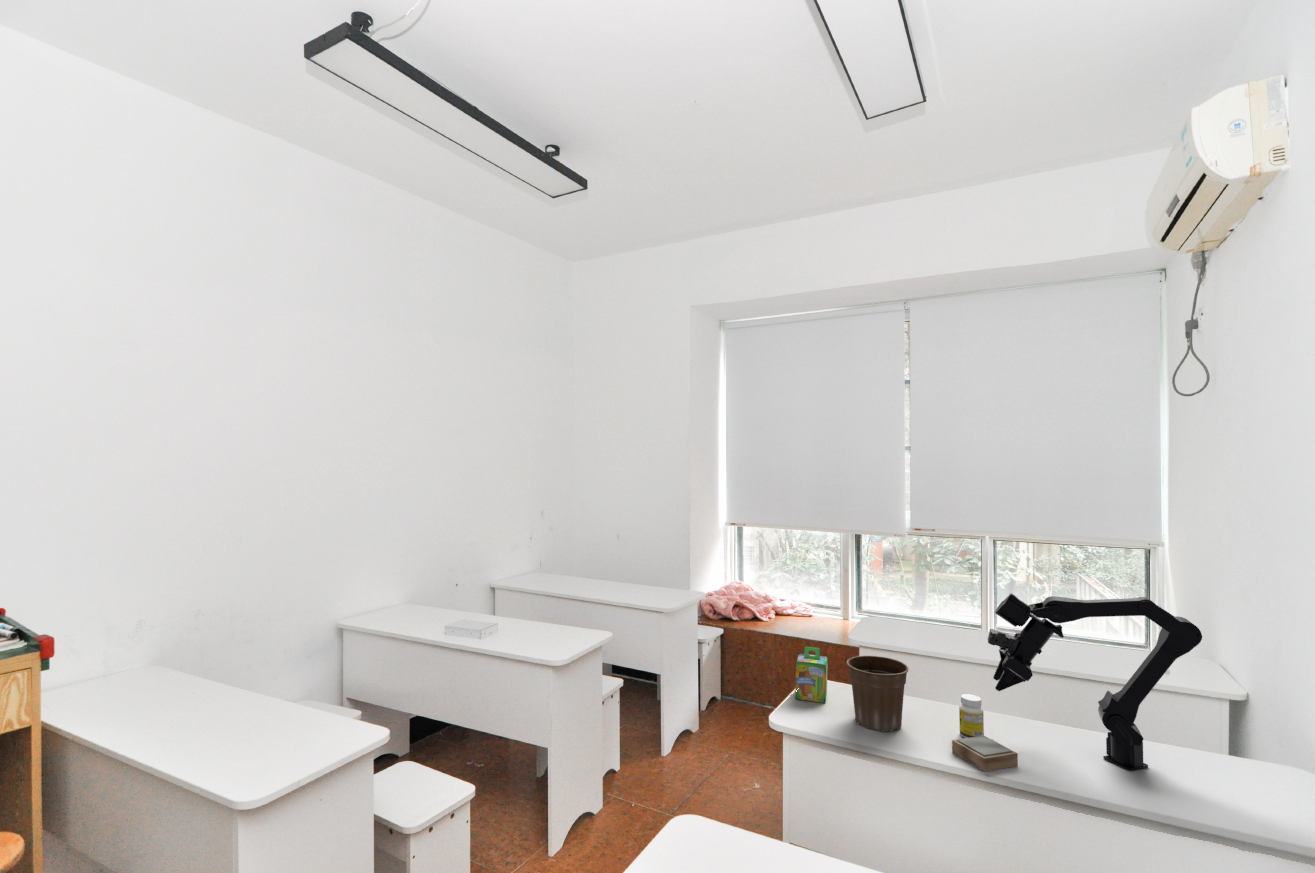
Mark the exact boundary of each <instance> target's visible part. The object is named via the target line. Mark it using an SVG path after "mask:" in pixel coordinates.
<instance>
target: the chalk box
mask: <svg viewBox="0 0 1315 873" xmlns="http://www.w3.org/2000/svg"><path fill="white" fill-rule="evenodd" d="M811 651H812V652H815V654H810V653H809V652H811ZM828 660H829V658H828V657H827V656H823V655H821V649H820V647H817V646H816V647H815V646H804V652H803V653H798V656H797V660H796V661H795V662H796V663H795V694H794V698H795V700H801V701H808V702H809V701H810V702H814V703H820V704H826V703H827V696H828V695H827V694H828ZM798 688H799V689H798ZM797 689H798V690H797ZM796 690H797V692H796Z"/></svg>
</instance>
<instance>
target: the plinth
mask: <svg viewBox="0 0 1315 873" xmlns="http://www.w3.org/2000/svg"><path fill="white" fill-rule="evenodd" d="M951 747H952V748H951V753H953V754H954V755H956V756H957V757H959V756H960V757H959V758H961V759H963V760H965V761H966V762H968V763H969V764H971V765H972V766H974V767H976V768H978V769H980V770H981V771H982V772H984V773H985V772H991V771H996V770H1001V769H1002V770H1003V769H1009V768H1015V767H1019V765H1018V764H1019V762H1018V761H1019V756H1018V753H1017V752H1016V751H1014V750H1012V749H1010V747H1007V746H1005V745H1003V744H1001V743H999V742H997V741H995V740H993V739H992V738H990V737H987V736H985V734H984V735H983V736H976V737H970V738H964V737H962V738H955V739H952V740H951ZM1008 767H1009V768H1008Z"/></svg>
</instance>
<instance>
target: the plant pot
mask: <svg viewBox="0 0 1315 873" xmlns="http://www.w3.org/2000/svg"><path fill="white" fill-rule="evenodd" d="M846 665H847V667H848V672H849V678H850V679H851V681H850V682H851V689H852V691H851V692H852V698H853V699H852V700H853V708H854V718H855V722H856V723H857V725H858V726H859V725H862V726H863V727H864V728H865V729H869V730H872V731H876V732H892V731H894V730H896V731H897V730H899V729H901V728H902V724H903V723H902V721H903V710H904V709H903V707H904V697H905V696H904V694H905V686H906V683H907V673H908V672H909V666H908V665H907V664H906V663H904V662H902V661H900V660H898V659H894V658H890V657H885V656H877V655H858V656H857V655H856V656H853V657H849V658H848V659H847V660H846Z"/></svg>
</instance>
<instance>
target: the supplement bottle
mask: <svg viewBox="0 0 1315 873" xmlns="http://www.w3.org/2000/svg"><path fill="white" fill-rule="evenodd" d="M960 702H961V703H960V704H959V712H958V714H959V734H960V737H962V738H970V737H976V736H983V735H984V736H985V728H984V726H985V725H984V724H985V723H984V709H983V707H982V705H983V703H982V698H981V697H979V695H975V694H968V693H965V694H964V693H962V694H961V696H960Z"/></svg>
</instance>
